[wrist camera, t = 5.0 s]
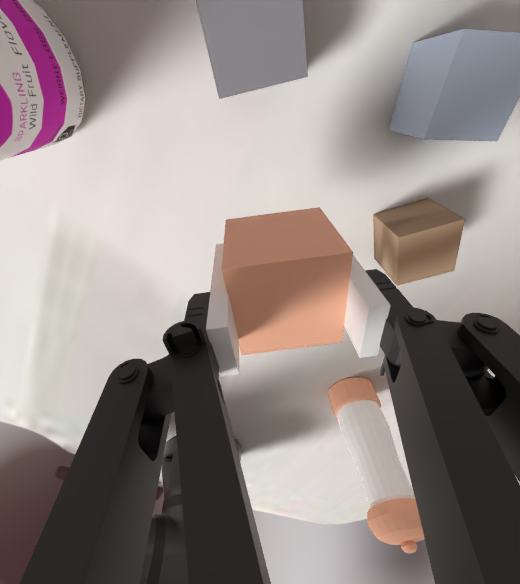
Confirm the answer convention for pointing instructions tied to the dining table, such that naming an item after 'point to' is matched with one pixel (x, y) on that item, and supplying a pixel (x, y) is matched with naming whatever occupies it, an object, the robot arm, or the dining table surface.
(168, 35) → the dining table surface
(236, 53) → the charcoal cube
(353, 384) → the pepper shaker
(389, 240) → the walnut cube
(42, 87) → the supplement can
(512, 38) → the slate blue cube
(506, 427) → the robot arm
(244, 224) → the terracotta cube
